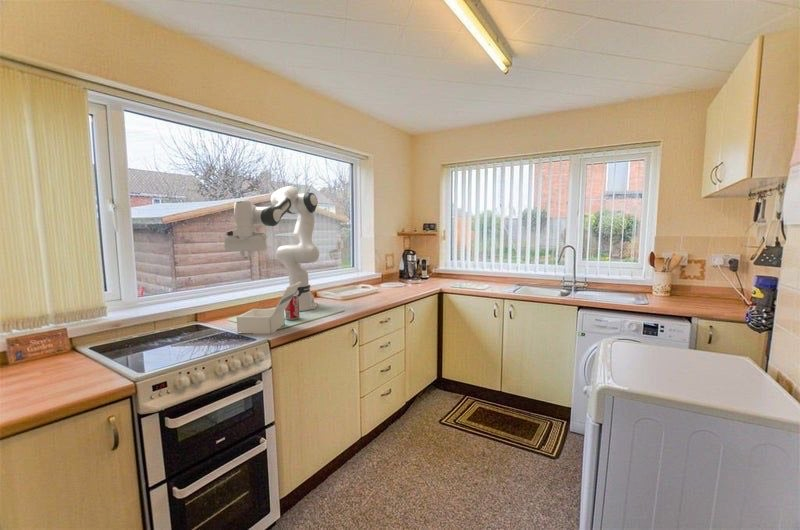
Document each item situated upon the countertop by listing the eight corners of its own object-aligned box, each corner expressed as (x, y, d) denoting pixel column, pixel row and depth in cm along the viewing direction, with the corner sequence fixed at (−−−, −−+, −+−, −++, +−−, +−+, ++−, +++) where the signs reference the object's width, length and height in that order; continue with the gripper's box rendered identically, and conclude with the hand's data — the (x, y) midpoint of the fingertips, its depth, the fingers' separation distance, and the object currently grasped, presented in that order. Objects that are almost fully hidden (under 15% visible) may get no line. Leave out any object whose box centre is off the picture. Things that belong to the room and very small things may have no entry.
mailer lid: (300, 281, 173) (301, 282, 173) (284, 308, 175) (285, 308, 175) (287, 287, 157) (288, 287, 157) (270, 316, 159) (272, 317, 159)
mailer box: (254, 324, 177) (253, 308, 176) (284, 324, 176) (283, 309, 175) (237, 333, 161) (236, 316, 160) (271, 334, 160) (270, 317, 159)
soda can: (295, 320, 183) (294, 296, 181) (283, 320, 184) (281, 296, 183) (301, 317, 190) (300, 294, 188) (289, 316, 191) (288, 293, 190)
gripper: (268, 232, 174) (269, 259, 176) (229, 232, 176) (230, 259, 177) (262, 232, 168) (263, 260, 170) (221, 232, 169) (223, 260, 171)
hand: (246, 260), depth 173 cm, fingers closed
